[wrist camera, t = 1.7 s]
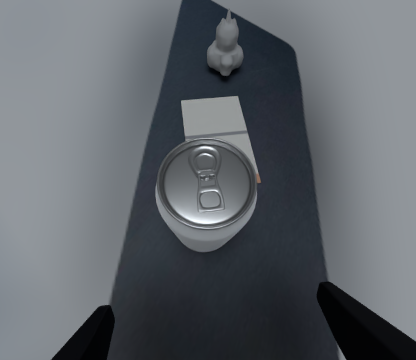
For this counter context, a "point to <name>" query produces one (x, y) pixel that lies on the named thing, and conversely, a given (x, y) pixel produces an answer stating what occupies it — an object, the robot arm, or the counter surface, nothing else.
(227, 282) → the counter surface
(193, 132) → the distance mat
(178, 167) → the can
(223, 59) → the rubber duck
